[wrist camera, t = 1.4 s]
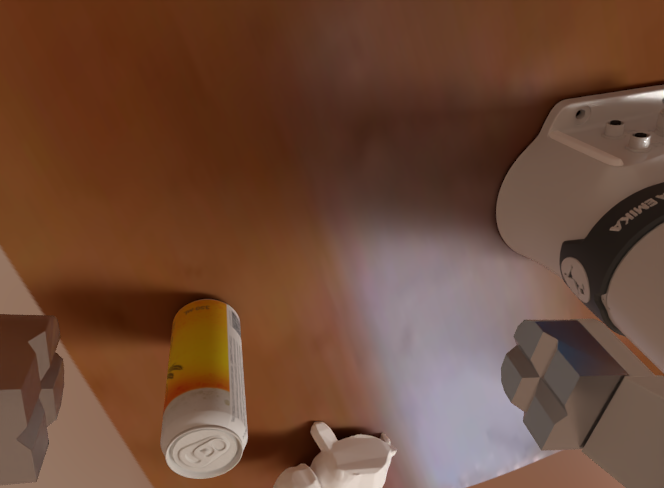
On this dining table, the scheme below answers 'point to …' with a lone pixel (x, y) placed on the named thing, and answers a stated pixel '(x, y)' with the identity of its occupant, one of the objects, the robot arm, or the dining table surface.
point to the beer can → (204, 392)
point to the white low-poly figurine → (341, 462)
